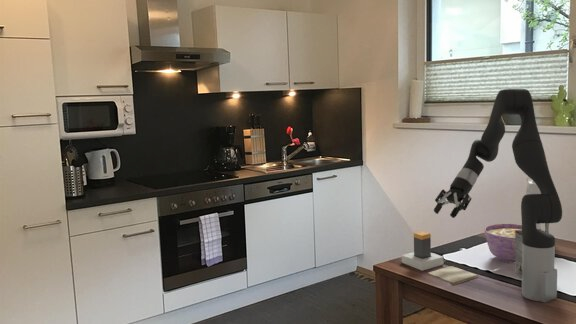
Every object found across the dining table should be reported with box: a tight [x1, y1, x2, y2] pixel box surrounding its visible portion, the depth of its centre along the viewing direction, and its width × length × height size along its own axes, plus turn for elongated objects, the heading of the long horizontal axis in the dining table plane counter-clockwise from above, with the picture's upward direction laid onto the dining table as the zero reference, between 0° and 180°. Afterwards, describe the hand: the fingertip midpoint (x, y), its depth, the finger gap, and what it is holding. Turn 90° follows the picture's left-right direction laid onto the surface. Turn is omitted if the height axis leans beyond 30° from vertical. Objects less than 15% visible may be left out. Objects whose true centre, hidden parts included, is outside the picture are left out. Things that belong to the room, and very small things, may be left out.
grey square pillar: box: [413, 230, 432, 259], centre depth 195 cm, size 4×4×12 cm
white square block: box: [401, 251, 445, 271], centre depth 196 cm, size 11×11×4 cm
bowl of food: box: [483, 223, 522, 264], centre depth 196 cm, size 20×20×12 cm
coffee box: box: [514, 229, 547, 279], centre depth 178 cm, size 9×6×16 cm
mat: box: [427, 265, 478, 286], centre depth 183 cm, size 12×12×1 cm
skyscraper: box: [525, 177, 550, 234], centre depth 216 cm, size 8×8×28 cm
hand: (443, 214), depth 199 cm, fingers open, 8 cm apart
